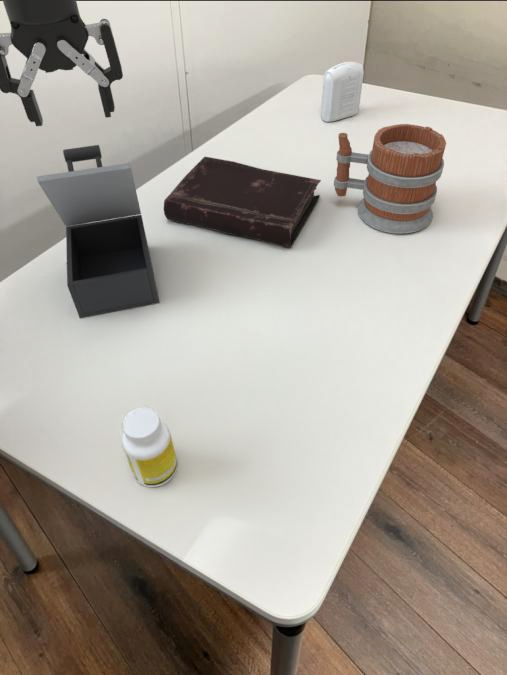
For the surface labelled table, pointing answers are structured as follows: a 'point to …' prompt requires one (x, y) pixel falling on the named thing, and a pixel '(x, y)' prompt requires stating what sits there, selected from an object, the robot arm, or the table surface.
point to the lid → (91, 189)
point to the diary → (243, 201)
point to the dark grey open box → (109, 266)
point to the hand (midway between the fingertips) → (74, 119)
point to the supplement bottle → (148, 447)
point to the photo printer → (341, 91)
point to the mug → (395, 177)
